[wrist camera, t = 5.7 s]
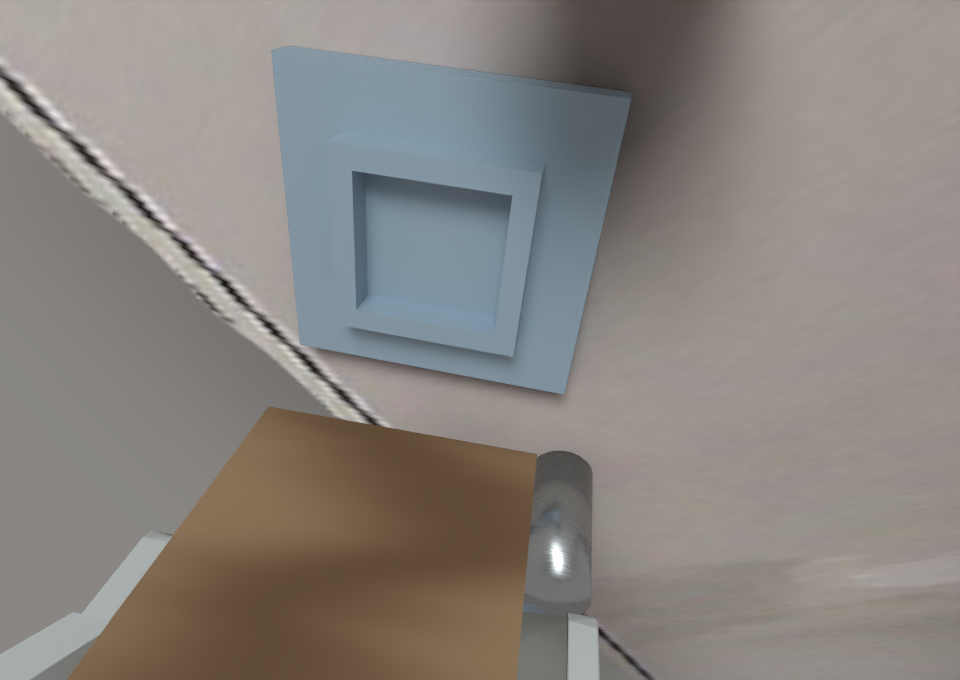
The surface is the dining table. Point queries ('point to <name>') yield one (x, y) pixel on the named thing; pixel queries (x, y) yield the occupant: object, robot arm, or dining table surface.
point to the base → (444, 211)
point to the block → (336, 563)
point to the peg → (560, 534)
